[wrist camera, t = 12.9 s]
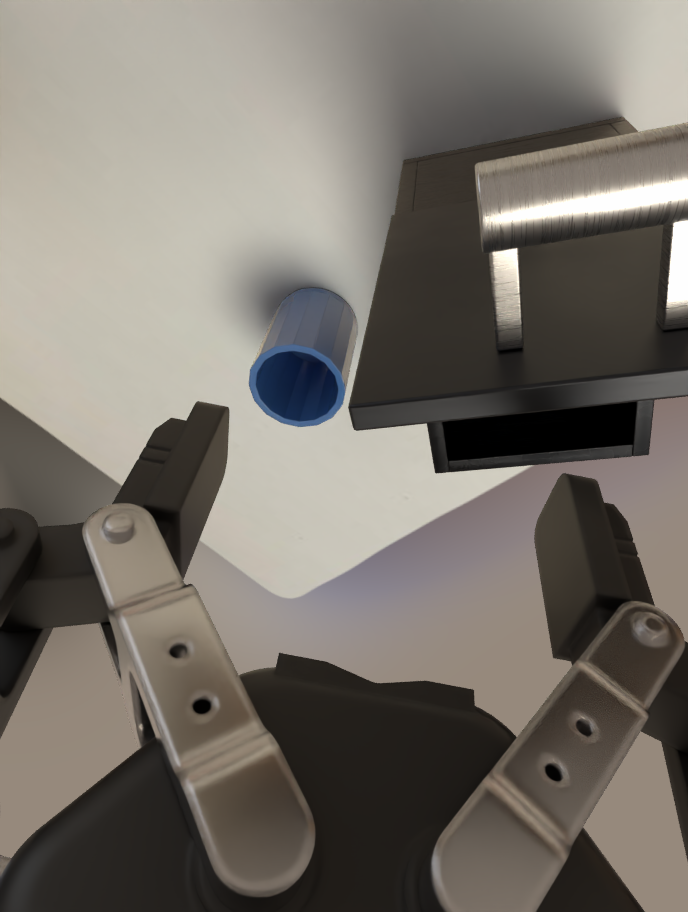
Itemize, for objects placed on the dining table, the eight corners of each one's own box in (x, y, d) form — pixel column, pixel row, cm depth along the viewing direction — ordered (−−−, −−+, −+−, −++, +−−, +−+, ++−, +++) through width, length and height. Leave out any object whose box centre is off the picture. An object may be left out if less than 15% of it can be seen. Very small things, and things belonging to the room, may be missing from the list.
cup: (287, 367, 48) (265, 431, 42) (264, 294, 44) (236, 352, 38) (365, 357, 46) (353, 421, 40) (347, 281, 43) (332, 338, 37)
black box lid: (909, 374, 14) (1006, 93, 11) (353, 432, 16) (302, 222, 13) (680, 182, 27) (693, 32, 24) (394, 232, 30) (373, 103, 26)
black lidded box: (611, 362, 44) (649, 455, 36) (435, 382, 47) (435, 473, 39) (623, 116, 35) (678, 169, 27) (402, 160, 38) (393, 220, 30)
